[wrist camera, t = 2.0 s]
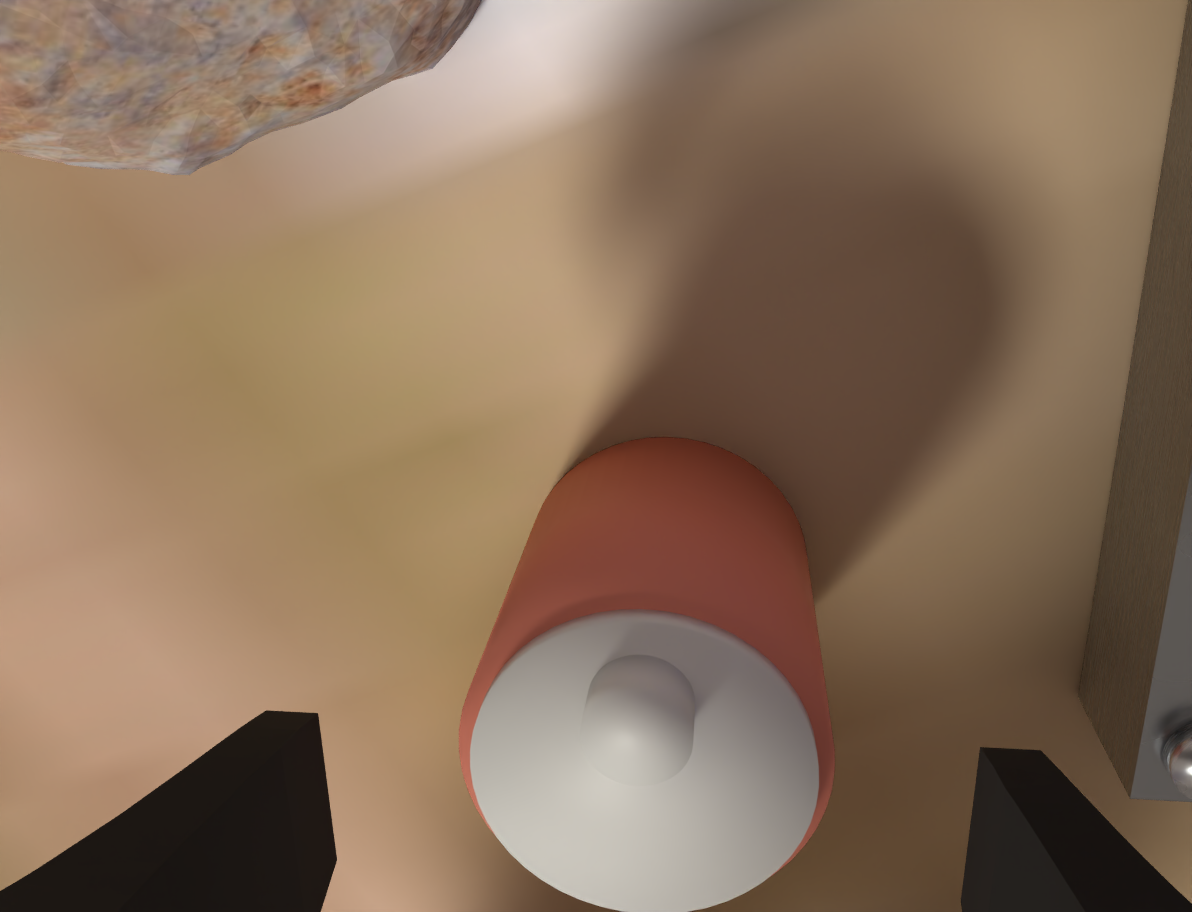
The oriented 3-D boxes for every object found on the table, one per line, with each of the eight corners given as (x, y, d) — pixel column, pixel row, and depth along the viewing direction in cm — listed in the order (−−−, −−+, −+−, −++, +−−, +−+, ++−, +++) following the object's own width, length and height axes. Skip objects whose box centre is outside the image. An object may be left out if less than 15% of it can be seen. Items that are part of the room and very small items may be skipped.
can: (800, 693, 18) (831, 986, 13) (535, 681, 19) (451, 958, 13) (814, 439, 17) (855, 648, 11) (523, 433, 17) (424, 630, 12)
